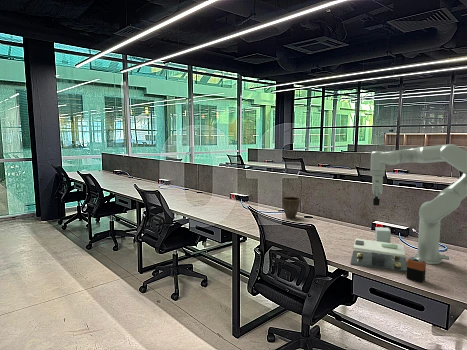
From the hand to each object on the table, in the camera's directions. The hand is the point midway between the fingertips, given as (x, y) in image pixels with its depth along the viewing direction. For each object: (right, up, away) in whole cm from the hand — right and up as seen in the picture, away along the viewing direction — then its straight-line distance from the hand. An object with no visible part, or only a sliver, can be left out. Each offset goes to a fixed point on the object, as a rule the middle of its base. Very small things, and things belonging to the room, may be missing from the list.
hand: (376, 205), depth 182 cm
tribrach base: (-5, -29, -12) cm, 32 cm away
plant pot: (-34, -18, +84) cm, 93 cm away
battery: (+3, -31, -34) cm, 46 cm away
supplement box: (+6, -27, +5) cm, 28 cm away
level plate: (-5, -23, -13) cm, 27 cm away
